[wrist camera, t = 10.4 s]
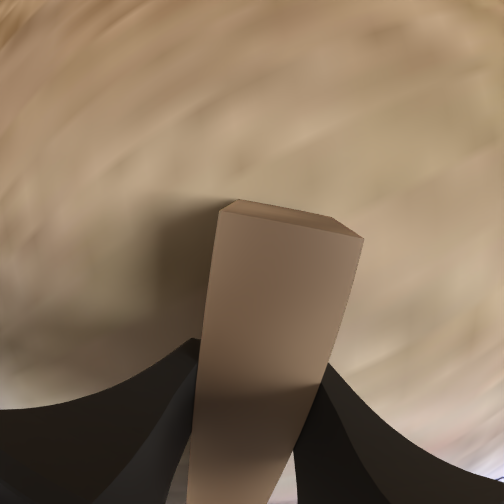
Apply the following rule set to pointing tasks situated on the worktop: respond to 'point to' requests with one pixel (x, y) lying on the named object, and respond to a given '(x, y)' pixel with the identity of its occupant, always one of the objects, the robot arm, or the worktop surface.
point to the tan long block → (264, 344)
